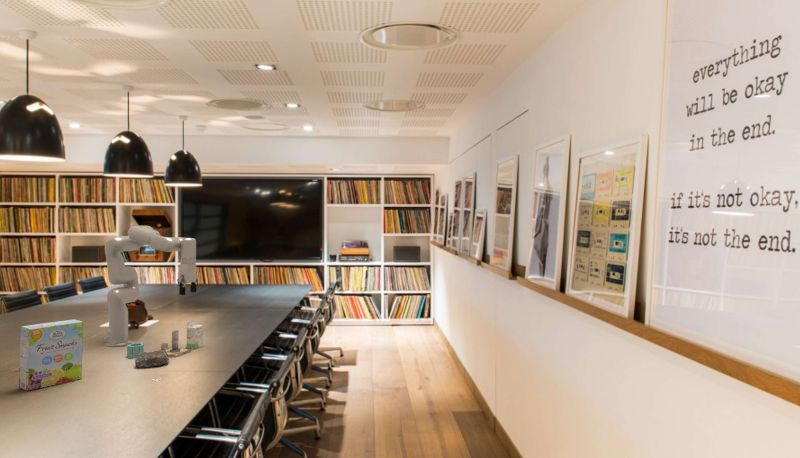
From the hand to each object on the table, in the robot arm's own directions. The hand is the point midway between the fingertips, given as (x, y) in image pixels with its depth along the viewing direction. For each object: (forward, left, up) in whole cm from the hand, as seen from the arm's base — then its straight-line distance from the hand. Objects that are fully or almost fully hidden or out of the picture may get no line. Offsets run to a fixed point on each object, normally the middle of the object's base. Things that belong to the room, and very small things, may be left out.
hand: (188, 293), depth 284 cm
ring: (-18, -17, -31) cm, 40 cm away
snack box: (-19, -64, -31) cm, 74 cm away
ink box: (-2, +9, -31) cm, 32 cm away
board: (-6, -6, -31) cm, 32 cm away
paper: (+18, -51, -31) cm, 63 cm away
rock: (0, -27, -31) cm, 41 cm away
